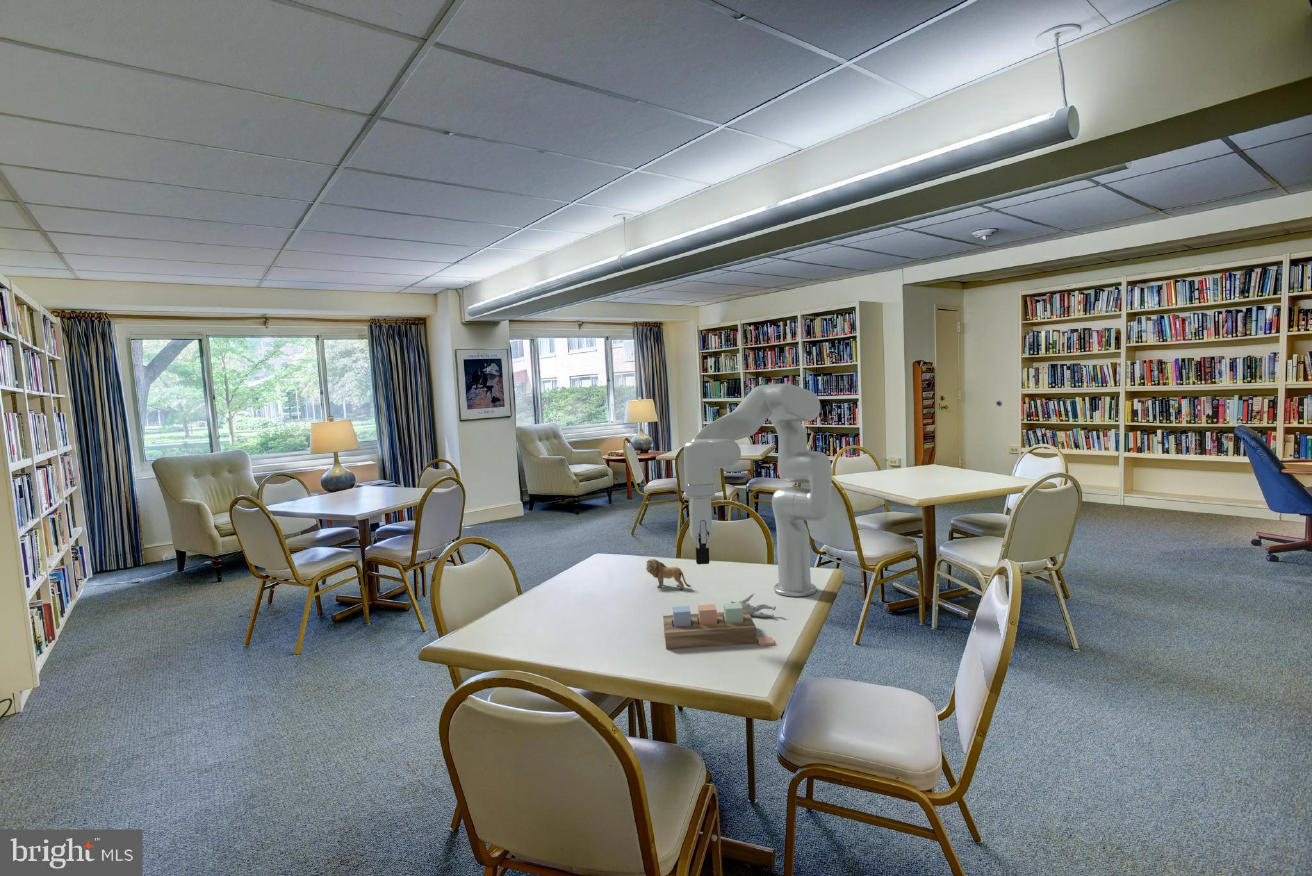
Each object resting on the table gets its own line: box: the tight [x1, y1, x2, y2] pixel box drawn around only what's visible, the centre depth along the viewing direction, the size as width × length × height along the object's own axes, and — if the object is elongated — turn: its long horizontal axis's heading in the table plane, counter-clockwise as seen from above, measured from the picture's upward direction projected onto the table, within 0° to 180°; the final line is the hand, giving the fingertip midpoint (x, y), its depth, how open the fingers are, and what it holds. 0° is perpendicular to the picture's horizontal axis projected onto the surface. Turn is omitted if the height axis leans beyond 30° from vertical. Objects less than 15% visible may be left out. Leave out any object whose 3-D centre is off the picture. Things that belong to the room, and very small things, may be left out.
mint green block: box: [723, 602, 743, 624], centre depth 157 cm, size 4×4×6 cm
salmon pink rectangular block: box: [697, 603, 718, 625], centre depth 157 cm, size 4×4×6 cm
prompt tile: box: [756, 636, 776, 647], centre depth 151 cm, size 4×4×1 cm
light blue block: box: [672, 605, 692, 627], centre depth 156 cm, size 4×4×6 cm
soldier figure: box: [730, 593, 777, 619], centre depth 170 cm, size 8×5×12 cm
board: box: [662, 610, 758, 650], centre depth 157 cm, size 12×22×4 cm, turn 92°
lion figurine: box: [645, 558, 692, 590], centre depth 200 cm, size 15×5×9 cm, turn 71°
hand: (702, 563), depth 157 cm, fingers closed
